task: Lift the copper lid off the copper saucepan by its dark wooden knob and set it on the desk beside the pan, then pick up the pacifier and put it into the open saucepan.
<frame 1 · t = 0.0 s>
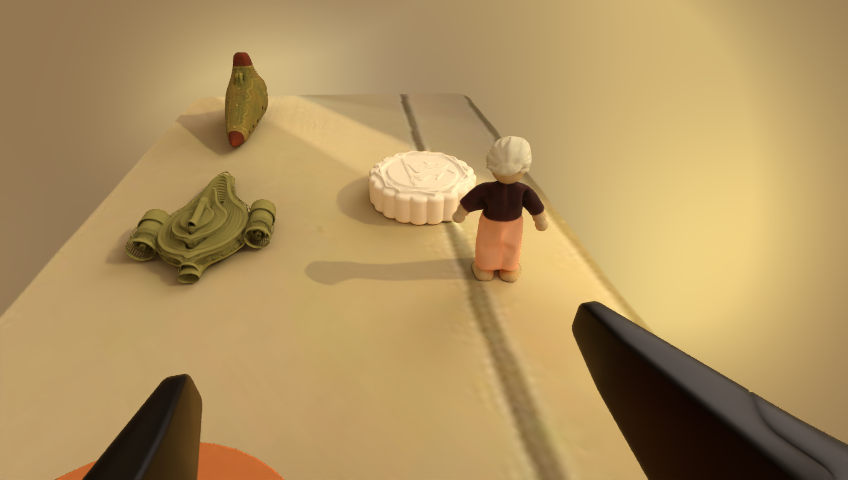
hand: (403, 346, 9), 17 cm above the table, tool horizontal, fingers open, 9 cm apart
grandmother figurine: (490, 272, 37), on the table
ocarina: (250, 128, 63), on the table
mooncake: (421, 198, 47), on the table
spaceship toy: (216, 226, 42), on the table
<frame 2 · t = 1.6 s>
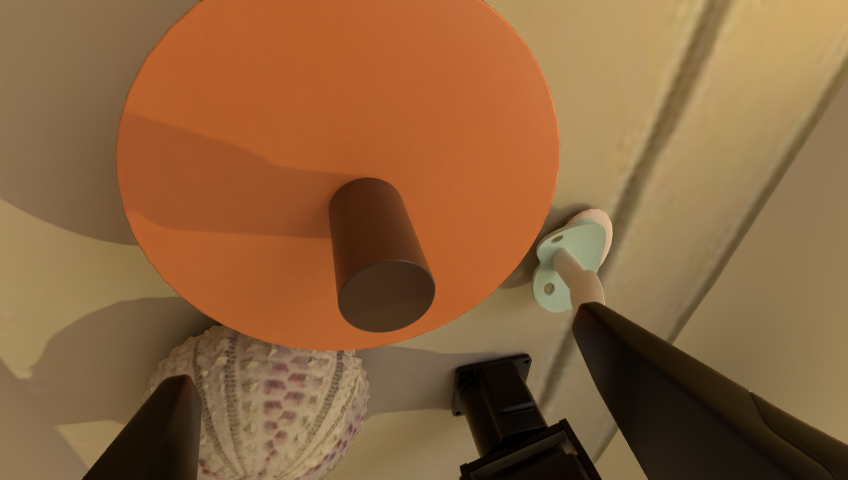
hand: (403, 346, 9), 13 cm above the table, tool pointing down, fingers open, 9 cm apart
lid: (364, 203, 15), point 6 cm above the table, touching pot
sea urchin shell: (265, 366, 28), on the table
pacifier: (565, 245, 28), on the table
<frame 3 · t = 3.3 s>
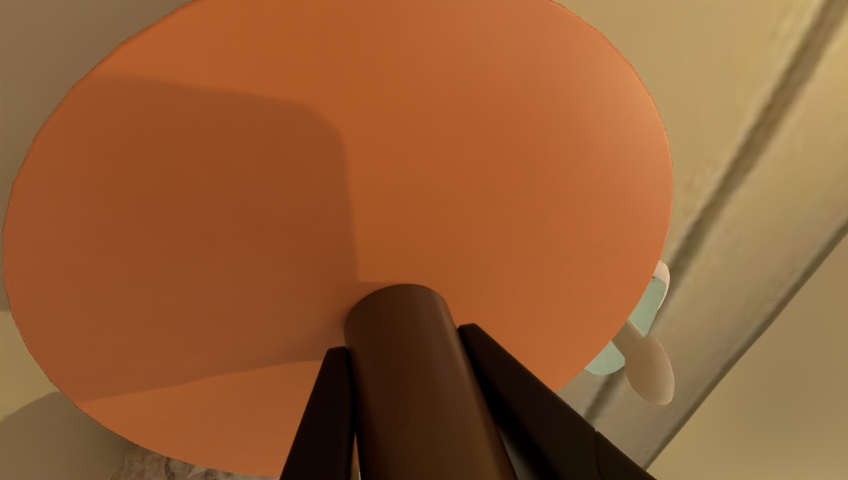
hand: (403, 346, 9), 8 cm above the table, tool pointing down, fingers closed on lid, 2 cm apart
lid: (393, 308, 10), point 6 cm above the table, touching gripper, pot
sea urchin shell: (259, 439, 24), on the table
pacifier: (611, 296, 24), on the table
when the fingers open (2 cm above the table, at t = 8.8 s): lid stays where it is, point 1 cm above the table.
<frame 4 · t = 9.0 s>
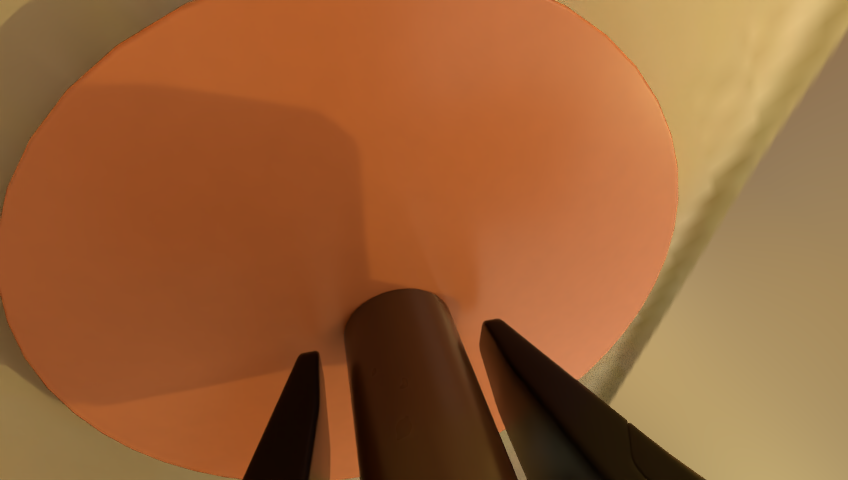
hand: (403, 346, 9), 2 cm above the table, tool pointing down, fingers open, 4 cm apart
lid: (394, 312, 10), point 1 cm above the table
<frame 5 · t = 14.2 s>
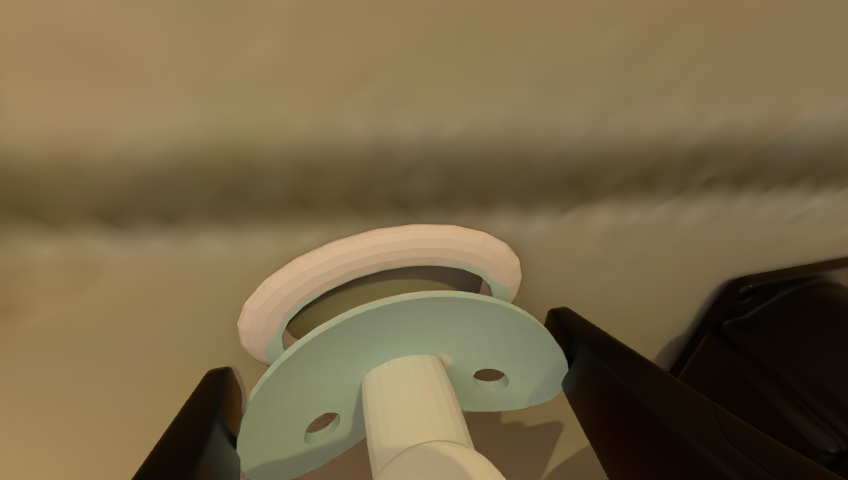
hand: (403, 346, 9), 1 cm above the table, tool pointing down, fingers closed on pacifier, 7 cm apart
pacifier: (388, 309, 10), on the table, touching gripper
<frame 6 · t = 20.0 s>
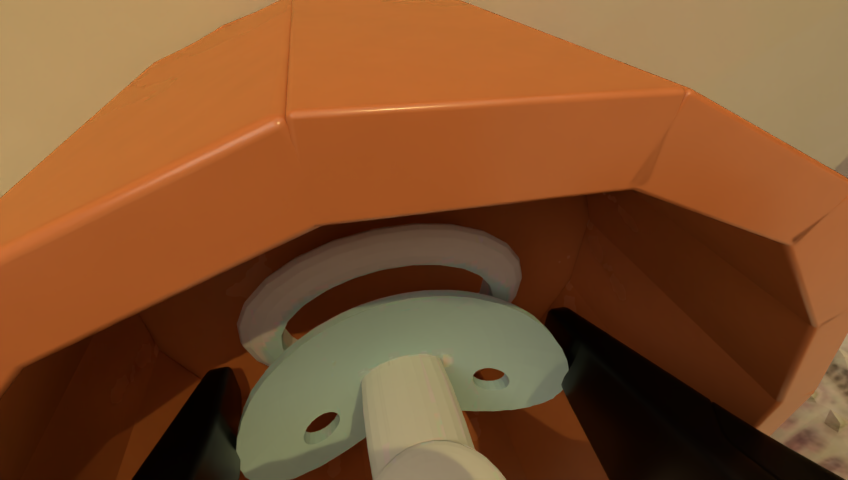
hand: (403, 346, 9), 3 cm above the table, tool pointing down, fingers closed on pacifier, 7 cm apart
sea urchin shell: (720, 331, 19), on the table
pot: (381, 269, 12), on the table
pacifier: (388, 309, 10), point 2 cm above the table, touching gripper
when the fingers open (5 cm above the table, at t = 38.4 s): pacifier drops 4 cm, resting on pot.
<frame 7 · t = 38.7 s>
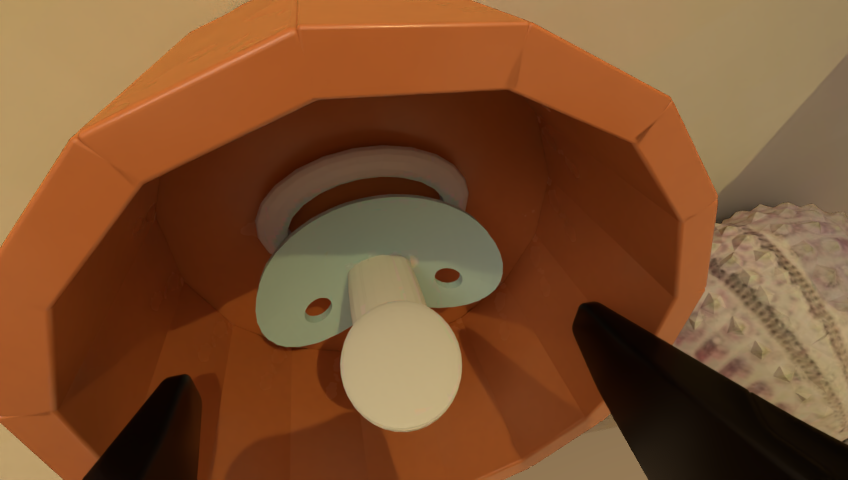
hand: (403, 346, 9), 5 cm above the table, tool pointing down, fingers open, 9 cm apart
sea urchin shell: (682, 293, 21), on the table
pot: (371, 218, 14), on the table
pacifier: (369, 223, 13), resting on pot
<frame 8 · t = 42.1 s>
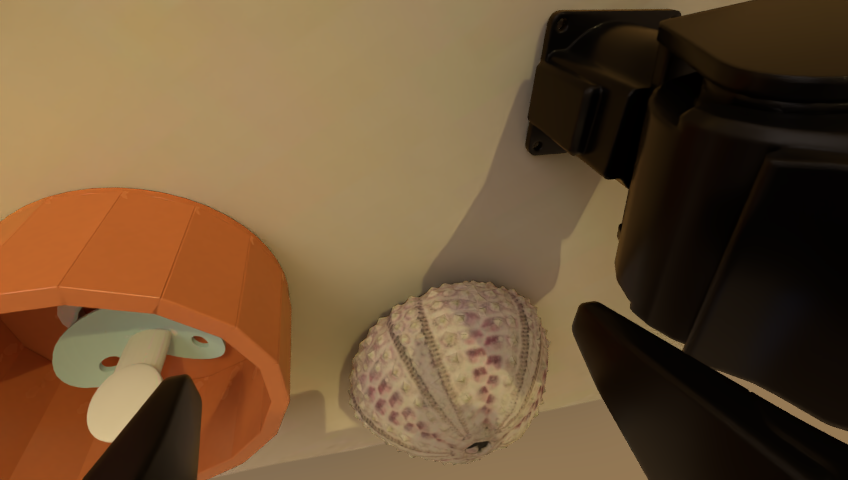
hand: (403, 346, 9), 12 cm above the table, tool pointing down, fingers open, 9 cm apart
sea urchin shell: (440, 335, 29), on the table
pot: (152, 302, 21), on the table
pacifier: (147, 307, 21), resting on pot
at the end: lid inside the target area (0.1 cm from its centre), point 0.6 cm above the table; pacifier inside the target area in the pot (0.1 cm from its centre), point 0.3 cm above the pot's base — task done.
